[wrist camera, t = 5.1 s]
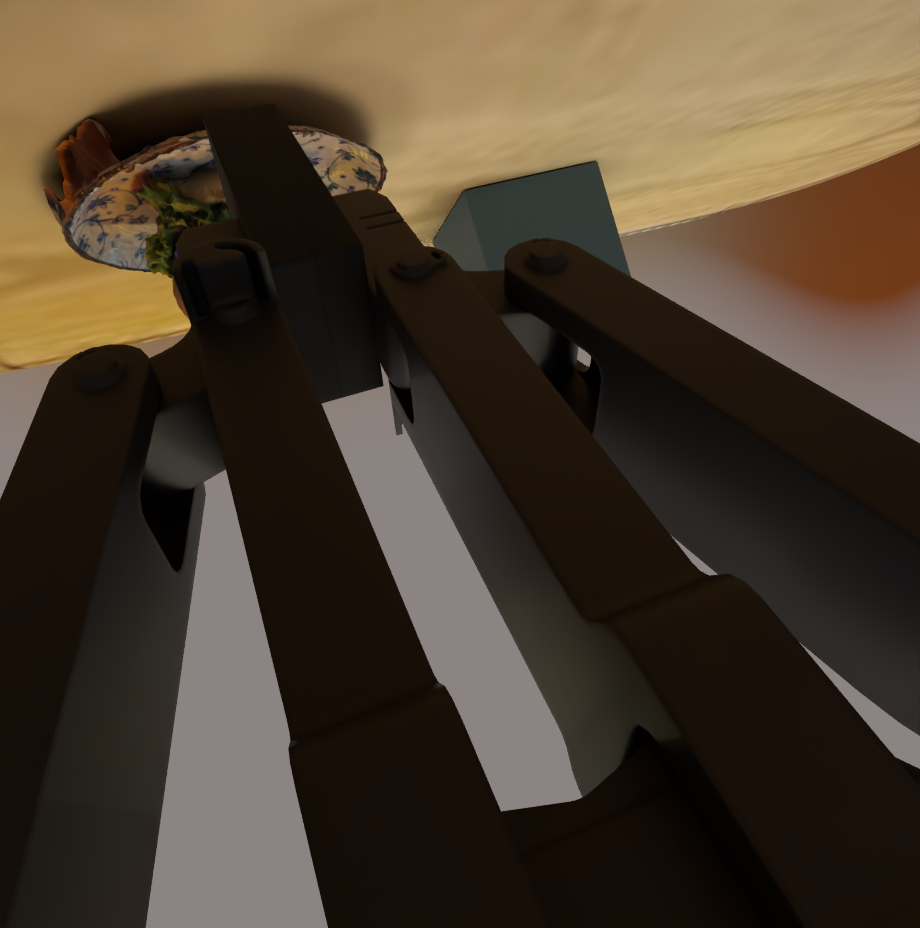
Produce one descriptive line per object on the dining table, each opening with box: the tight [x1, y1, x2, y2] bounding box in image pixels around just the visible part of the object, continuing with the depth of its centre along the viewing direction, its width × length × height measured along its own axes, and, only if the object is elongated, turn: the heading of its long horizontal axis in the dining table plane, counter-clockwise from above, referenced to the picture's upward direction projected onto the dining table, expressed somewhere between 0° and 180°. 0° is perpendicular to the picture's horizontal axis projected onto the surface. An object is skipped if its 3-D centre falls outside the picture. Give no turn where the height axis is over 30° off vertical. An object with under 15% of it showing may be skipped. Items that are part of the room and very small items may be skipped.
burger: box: [44, 119, 388, 318], centre depth 26 cm, size 12×12×8 cm
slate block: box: [433, 162, 631, 347], centre depth 42 cm, size 8×8×9 cm
